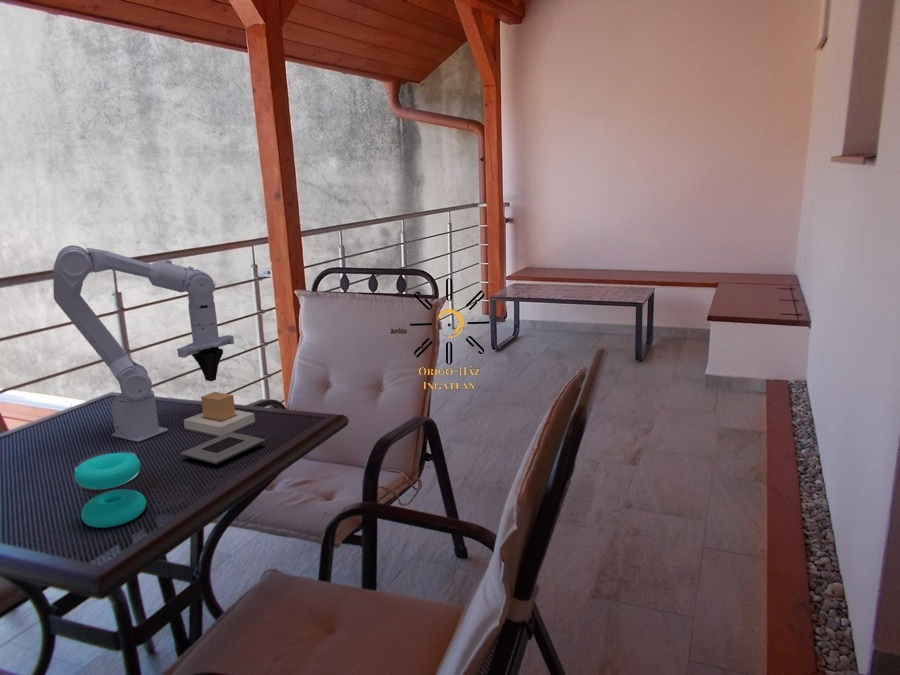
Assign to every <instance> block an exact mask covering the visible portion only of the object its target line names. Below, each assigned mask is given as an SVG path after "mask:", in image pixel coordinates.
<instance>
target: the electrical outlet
mask: <svg viewBox="0 0 900 675" xmlns="http://www.w3.org/2000/svg"><path fill="white" fill-rule="evenodd" d="M265 442H266V439H265V438H260V437H256V436H251V435H247V434H243V433H239V432H235V433H234V432H228V433H226V434H224V435H221V436H219V437H214V438H212V439H209V440H207V441H206V442H203V443H201V444H198V445H196V446H194V447H191V448H189V449H186V450H184V451H182V452H180V454H179V455H181V456H182V457H186V458H190V459H193V460H197V461H201V462H204V463H208V464H212V465H216V466H218V465H220V464H223V463H224V462H226V461H228V460H230V459H233V458H234V457H237V456H240V455H241V454H243V453H245V452H247V451H249V450H252V449H255V448H257V447H258V446H260V445H262V444H264V443H265Z"/></svg>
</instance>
